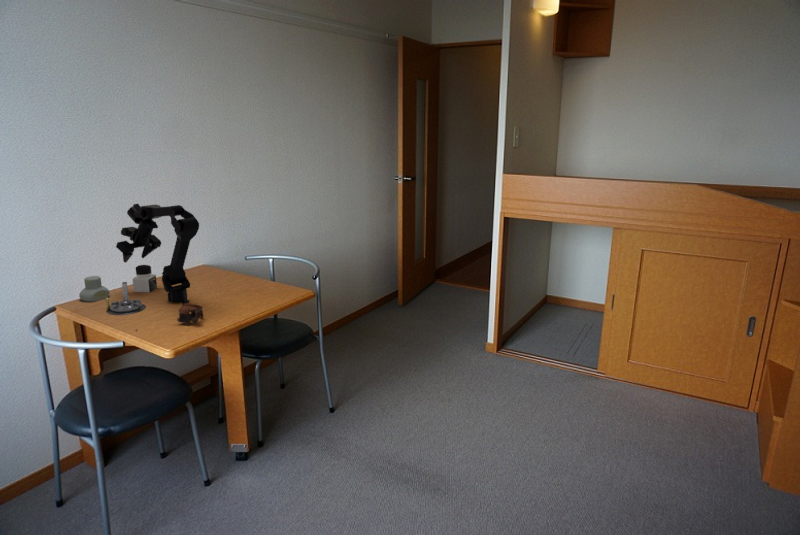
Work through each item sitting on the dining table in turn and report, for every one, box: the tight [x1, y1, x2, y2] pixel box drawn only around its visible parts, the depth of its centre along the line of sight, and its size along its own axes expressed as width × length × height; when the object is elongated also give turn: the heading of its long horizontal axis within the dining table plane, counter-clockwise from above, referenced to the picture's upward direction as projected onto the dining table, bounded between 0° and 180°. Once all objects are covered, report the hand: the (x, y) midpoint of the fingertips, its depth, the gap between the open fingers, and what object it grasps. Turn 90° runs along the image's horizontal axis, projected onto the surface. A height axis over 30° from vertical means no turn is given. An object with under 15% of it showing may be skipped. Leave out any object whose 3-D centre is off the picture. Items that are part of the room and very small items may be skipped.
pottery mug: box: [176, 302, 204, 327], centre depth 209 cm, size 12×10×8 cm
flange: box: [104, 297, 147, 316], centre depth 217 cm, size 14×14×6 cm
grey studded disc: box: [110, 281, 143, 313], centre depth 218 cm, size 14×11×8 cm
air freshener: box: [78, 275, 110, 303], centre depth 229 cm, size 11×8×10 cm
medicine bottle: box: [132, 264, 158, 293], centre depth 241 cm, size 7×7×12 cm
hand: (133, 259), depth 238 cm, fingers open, 9 cm apart
